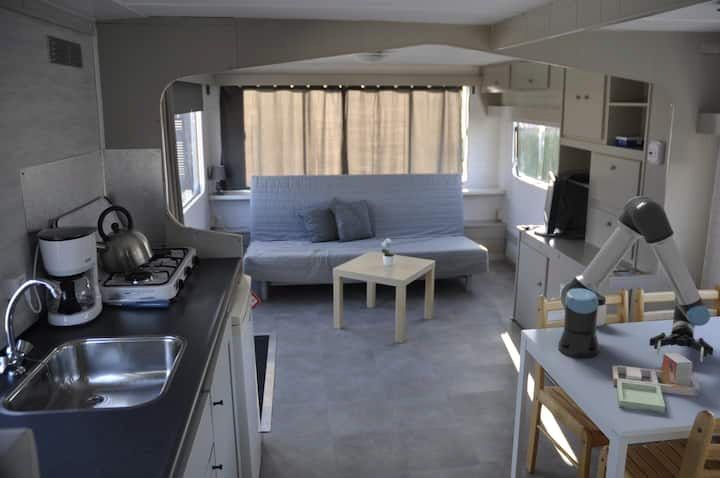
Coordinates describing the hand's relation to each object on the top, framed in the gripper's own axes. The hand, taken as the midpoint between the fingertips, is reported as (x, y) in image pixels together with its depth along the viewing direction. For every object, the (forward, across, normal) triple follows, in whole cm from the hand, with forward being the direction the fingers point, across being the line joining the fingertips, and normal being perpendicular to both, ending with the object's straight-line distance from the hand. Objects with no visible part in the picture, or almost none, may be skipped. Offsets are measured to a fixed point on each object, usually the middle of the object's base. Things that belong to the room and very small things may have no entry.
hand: (679, 354), depth 211 cm
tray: (+26, +10, -8) cm, 29 cm away
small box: (+10, 0, -8) cm, 13 cm away
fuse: (+12, +13, -8) cm, 19 cm away
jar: (-40, +35, -8) cm, 53 cm away
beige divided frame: (+11, +7, -8) cm, 15 cm away
